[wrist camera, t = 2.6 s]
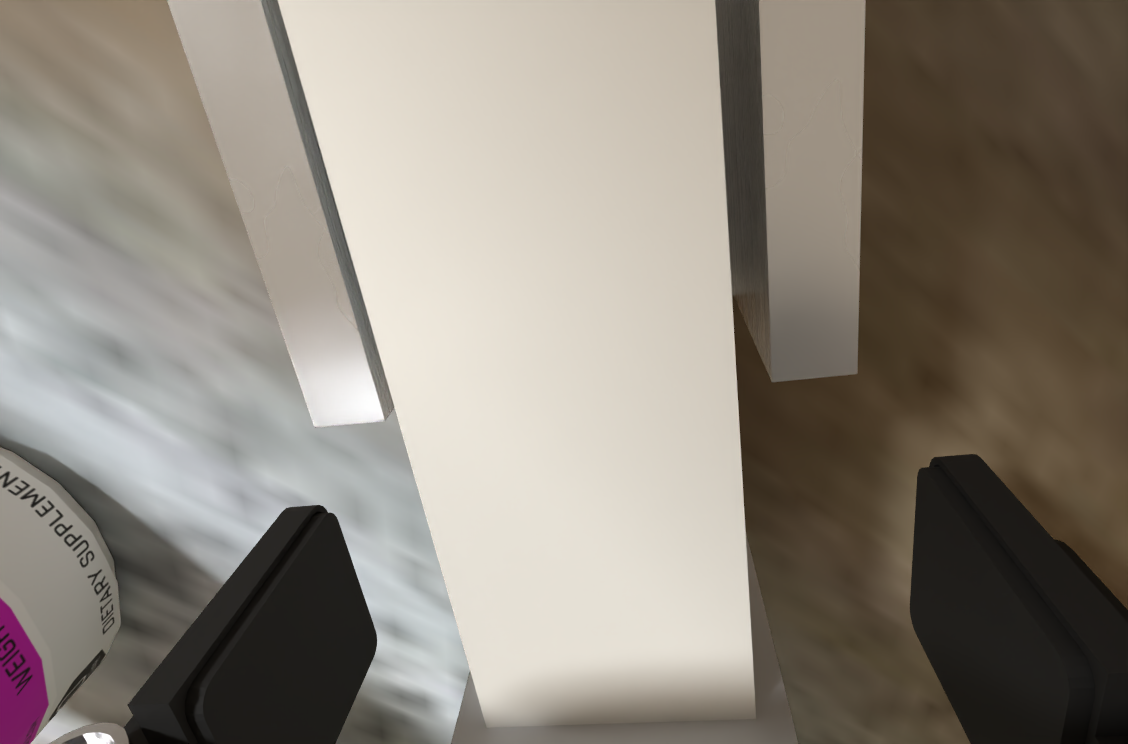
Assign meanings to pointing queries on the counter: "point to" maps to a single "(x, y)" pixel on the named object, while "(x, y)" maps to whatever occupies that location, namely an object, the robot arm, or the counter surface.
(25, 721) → the supplement can
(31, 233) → the counter surface
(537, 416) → the tall cream post
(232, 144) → the guide channel
